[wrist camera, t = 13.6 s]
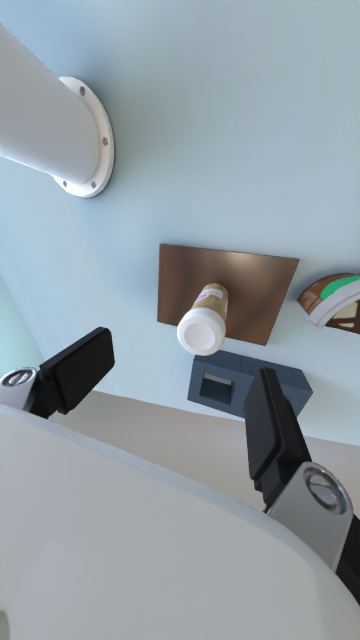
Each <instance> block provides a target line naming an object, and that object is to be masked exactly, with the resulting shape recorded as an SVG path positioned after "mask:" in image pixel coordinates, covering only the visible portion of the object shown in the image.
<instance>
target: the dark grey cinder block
mask: <svg viewBox="0 0 360 640" xmlns="http://www.w3.org/2000/svg"><path fill="white" fill-rule="evenodd" d="M262 367H267V368H271V369H274V370H275V371H276V374H277V377H278V380H279V383H280V386H281V389H282V392H283V395H284V398H287V399H288V400H289V401H290V403H291V405H292V408H293V410H294V413H295V416H296V418H297V416H298V415H299V413H300V412H301V410H302V409H303V407H304V406H305V404H306V403H307V401H308V400H309V398H310V397H311V395H312V393H313V391H312V389H311V387H310V385H309V383H308V381H307V379H306V378H305V376H304V374H303V372H302V370H299V369H295V368H291V367H287V366H283V365H278V364H274V363H270V362H266V361H262V360H258V359H254V358H250V357H246V356H242V355H238V354H234V353H230V352H225V351H221V350H218V351H217V352H215V353H213V354H211V355H206V356H201V355H195V357H194V360H193V367H192V373H191V379H190V385H189V392H188V398H187V400H189V401H192V402H195V403H199V404H202V405H205V406H208V407H211V408H214V409H217V410H220V411H223V412H226V413H229V414H232V415H235V416H238V417H242V418H245V411H244V402H245V399H246V396H247V394H248V391H249V389H250V387H251V384H252V382H253V379H254V377H255V374H256V372H257V370H258V368H260V369H261V368H262ZM204 373H206V374H210V375H213V376H217V377H220V378H224V379H228V380H231V381H232V384H231V386H230V385H227V384H223V383H220V382H216V381H213V380H209V379H206V378H203V377H204Z"/></svg>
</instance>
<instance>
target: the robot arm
mask: <svg viewBox="0 0 360 640" xmlns="http://www.w3.org/2000/svg"><path fill="white" fill-rule="evenodd" d="M0 156H2V157H5V158H7V159H10V160H13V161H15V162H18V163H21V164H23V165H26V166H29V167H31V168H34V169H37V170H39V171H42V172H44V173H47V174H50V175H52V176H53V177H54V178H55V180H56V181H57V182H58V184H59V185H60V186H61V187H62V188H63V189H65V190H66V191H67V192H69V193H71V194H73V195H75V196H78V197H82V198H89V197H93V196H95V195H97V194H99V193H100V192H101V191H102V190H103V189H104V188H105V186H106V184H107V183H108V181H109V178H110V176H111V173H112V169H113V164H114V139H113V133H112V128H111V125H110V121H109V118H108V116H107V113H106V111H105V109H104V107H103V105H102V103H101V102H100V100H99V98H98V97H97V96H96V95H95V94H94V93H93V91H92V90H91V89H90V88H89V87H88V86H87V85H86V84H85V83H84V82H82V81H80V80H78V79H77V78H75V77H70V76H64V77H59V78H58V77H57V76H56V75H55V74H54V73H53V72H52V71H51V70H49V69H48V68H47V67H46V66H45V65H44V64H43V63H42V62H41V61H40V60H39V59H38V58H37V57H36V56H35V55H34V54H33V53H32V52H30V51H29V50H28V49H27V48H26V47H25V46H24V45H23V44H22V43H21V42H20V41H19V40H18V39H17V38H16V37H15V36H14V35H13V34H11V33H10V32H9V31H8V30H7V29H6V28H5V27H4V26H3V25H2V24H1V23H0ZM114 364H115V360H114V352H113V344H112V335H111V332H110V331H109V329H108V328H103V327H98V328H96V329H95V330H93V331H92V332H90V333H89V334H87V335H86V336H84V337H83V338H81V339H79V340H78V341H76V342H75V343H73V344H72V345H70V346H69V347H67V348H66V349H64V350H63V351H61V352H59V353H58V354H56V355H55V356H53V357H52V358H50V359H49V360H47V361H46V362H44V363H43V364H41V365H40V366H39V367H40V369H41V370H39V371H38V372H37V370H36V369H35V368H33V367H25V368H20V369H17V370H14V371H12V372H10V373H8V374H6V375H5V376H4V377H2V378H1V379H0V640H360V520H359V519H358V518H357V517H356V515H355V514H354V513H353V506H352V502H351V499H350V497H349V495H348V493H347V492H346V490H345V488H344V487H343V486H342V484H341V483H340V482H339V480H338V479H336V477H335V476H334V475H333V474H332V473H331V472H329V471H328V470H327V469H326V468H324V467H323V466H321V465H319V464H317V463H314V462H312V459H311V457H310V454H309V451H308V448H307V446H306V443H305V440H304V438H303V435H302V432H301V429H300V427H299V424H298V421H297V418H296V416H295V413H294V410H293V408H292V405H291V403H290V401H289V400H288V399H287V398H284V395H283V392H282V389H281V386H280V383H279V380H278V377H277V374H276V371H275V370H274V369H271V368H267V367H262V368H261V369H260V368H258V370H257V372H256V374H255V377H254V379H253V382H252V384H251V387H250V389H249V391H248V394H247V396H246V399H245V402H244V411H245V423H246V436H247V448H248V462H249V474H250V478H251V479H252V480H254V487H255V490H257V491H260V492H262V493H263V500H264V502H265V504H266V505H265V507H264V508H263V510H262V511H260V510H258V509H256V508H254V507H252V506H250V505H248V504H246V503H244V502H242V501H240V500H238V499H236V498H234V497H231V496H229V495H227V494H224V493H222V492H220V491H218V490H215V489H213V488H211V487H209V486H206V485H204V484H202V483H199V482H197V481H195V480H192V479H190V478H188V477H185V476H183V475H181V474H178V473H176V472H173V471H171V470H169V469H166V468H164V467H161V466H159V465H157V464H154V463H152V462H149V461H147V460H145V459H142V458H140V457H137V456H135V455H133V454H130V453H128V452H125V451H123V450H120V449H118V448H116V447H113V446H111V445H108V444H106V443H103V442H101V441H99V440H96V439H94V438H91V437H89V436H86V435H84V434H81V433H79V432H77V431H74V430H72V429H69V428H67V427H64V426H62V425H59V424H57V423H54V422H52V417H53V414H54V412H55V411H56V410H57V411H58V412H59V413H62V414H64V415H66V414H67V413H68V412H69V411H70V410H72V409H74V408H75V407H76V406H77V405H78V404H79V403H80V402H81V401H82V399H83V398H85V396H86V395H87V394H88V393H89V392H90V391H91V390H92V389H93V388H94V387H95V386H96V385H97V384H98V383H99V382H100V380H101V379H102V378H103V377H104V376H105V375H106V374H107V373H108V372H109V371H110V370H111V369H112V368H113V366H114Z"/></svg>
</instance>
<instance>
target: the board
mask: <svg viewBox="0 0 360 640" xmlns="http://www.w3.org/2000/svg"><path fill="white" fill-rule="evenodd" d="M298 262H299V259H297V258H288V257H279V256H270V255H260V254H251V253H242V252H233V251H224V250H214V249H205V248H196V247H187V246H178V245H168V244H160V248H159V282H158V316H157V322H161V323H165V324H170V325H174V326H178V325H179V323H180V322H181V320H182V318H183V317H184V316H185V314H186V313H187V312H189V311H190V310H191V308H192V306H193V305H194V302H195V301H196V299H197V298H198V296H199V295H200V294H201V292H202V290H203V289H204V287H205V286H207V285H209V284H212V283H217V284H220V285H222V286H224V287H225V288H226V289H227V291H228V297H229V298H228V305H227V315H226V320H225V327H226V332H225V337H228V338H232V339H237V340H241V341H246V342H250V343H255V344H259V345H263V346H266V344H267V341H268V338H269V336H270V333H271V331H272V328H273V326H274V323H275V321H276V318H277V316H278V313H279V310H280V308H281V305H282V303H283V300H284V298H285V295H286V293H287V290H288V288H289V285H290V282H291V280H292V277H293V275H294V272H295V270H296V267H297V265H298Z"/></svg>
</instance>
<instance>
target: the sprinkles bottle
mask: <svg viewBox="0 0 360 640" xmlns="http://www.w3.org/2000/svg"><path fill="white" fill-rule="evenodd" d="M228 298H229V297H228V291H227V289H226V288H225V287H224V286H222V285H220V284H217V283H212V284H209V285H207V286H205V287H204V289H203V290H202V292H201V294H200V295H199V296H198V298H197V299H196V301H195V302H194V305H193V306H192V308H191V310H190V311H189V312H187V313H186V314H185V316H184V317H183V318H182V320H181V322H180V323H179V325H178V329H177V335H178V339H179V341H180V343H181V345H182V346H183V347H184V348H185V349H186V350H187V351H189V352H191V353H193V354H196V355H201V356H206V355H211V354H213V353H215V352H217V351H218V350H219V349H220V348H221V347H222V345H223V343H224V339H225V332H226V327H225V320H226V315H227V305H228Z"/></svg>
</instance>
